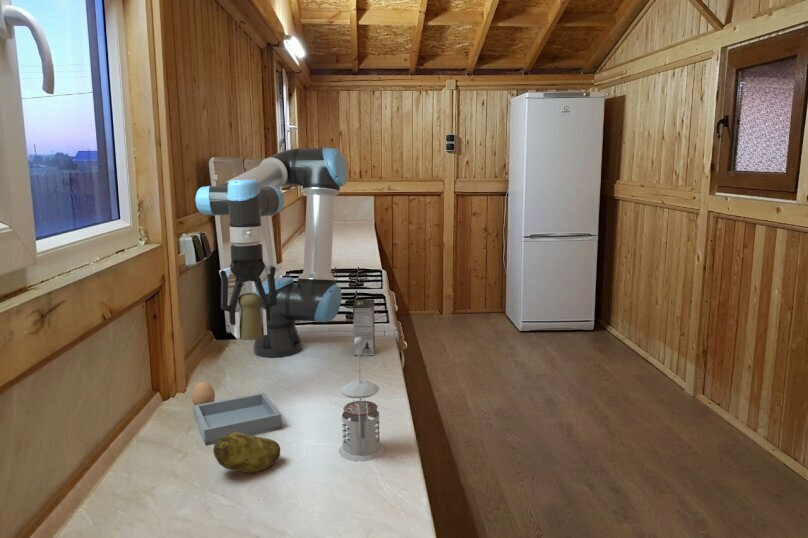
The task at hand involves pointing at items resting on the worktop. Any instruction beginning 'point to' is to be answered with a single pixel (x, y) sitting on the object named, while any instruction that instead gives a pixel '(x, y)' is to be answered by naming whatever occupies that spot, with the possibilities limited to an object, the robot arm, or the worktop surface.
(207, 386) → the egg
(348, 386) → the french press
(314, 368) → the worktop surface
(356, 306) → the coffee box
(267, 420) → the grey bin
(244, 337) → the cork
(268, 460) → the potato
